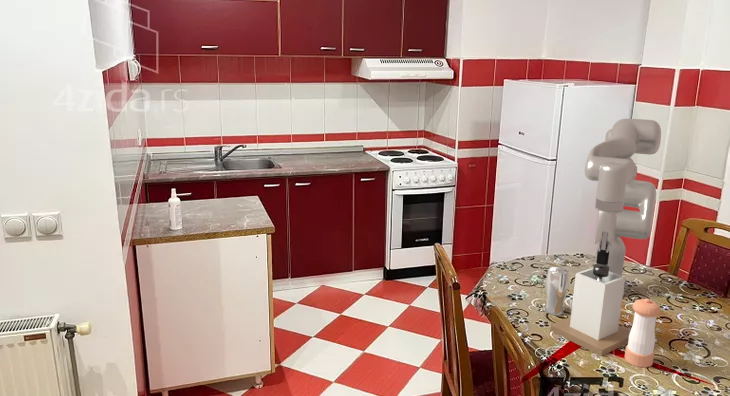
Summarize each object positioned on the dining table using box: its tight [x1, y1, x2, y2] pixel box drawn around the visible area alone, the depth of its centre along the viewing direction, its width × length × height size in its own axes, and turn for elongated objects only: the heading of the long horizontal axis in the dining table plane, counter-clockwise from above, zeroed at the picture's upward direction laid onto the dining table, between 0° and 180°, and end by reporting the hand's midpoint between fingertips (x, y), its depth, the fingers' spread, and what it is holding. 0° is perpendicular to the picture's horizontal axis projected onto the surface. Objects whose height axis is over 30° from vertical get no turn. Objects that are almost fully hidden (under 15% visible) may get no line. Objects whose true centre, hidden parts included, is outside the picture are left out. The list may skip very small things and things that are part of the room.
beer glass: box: [544, 266, 570, 316], centre depth 186 cm, size 7×7×15 cm
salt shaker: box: [624, 298, 662, 368], centre depth 156 cm, size 7×7×19 cm
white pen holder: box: [549, 267, 631, 357], centre depth 170 cm, size 18×18×20 cm
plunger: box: [592, 263, 609, 282], centre depth 169 cm, size 8×8×20 cm
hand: (601, 263), depth 167 cm, fingers closed
